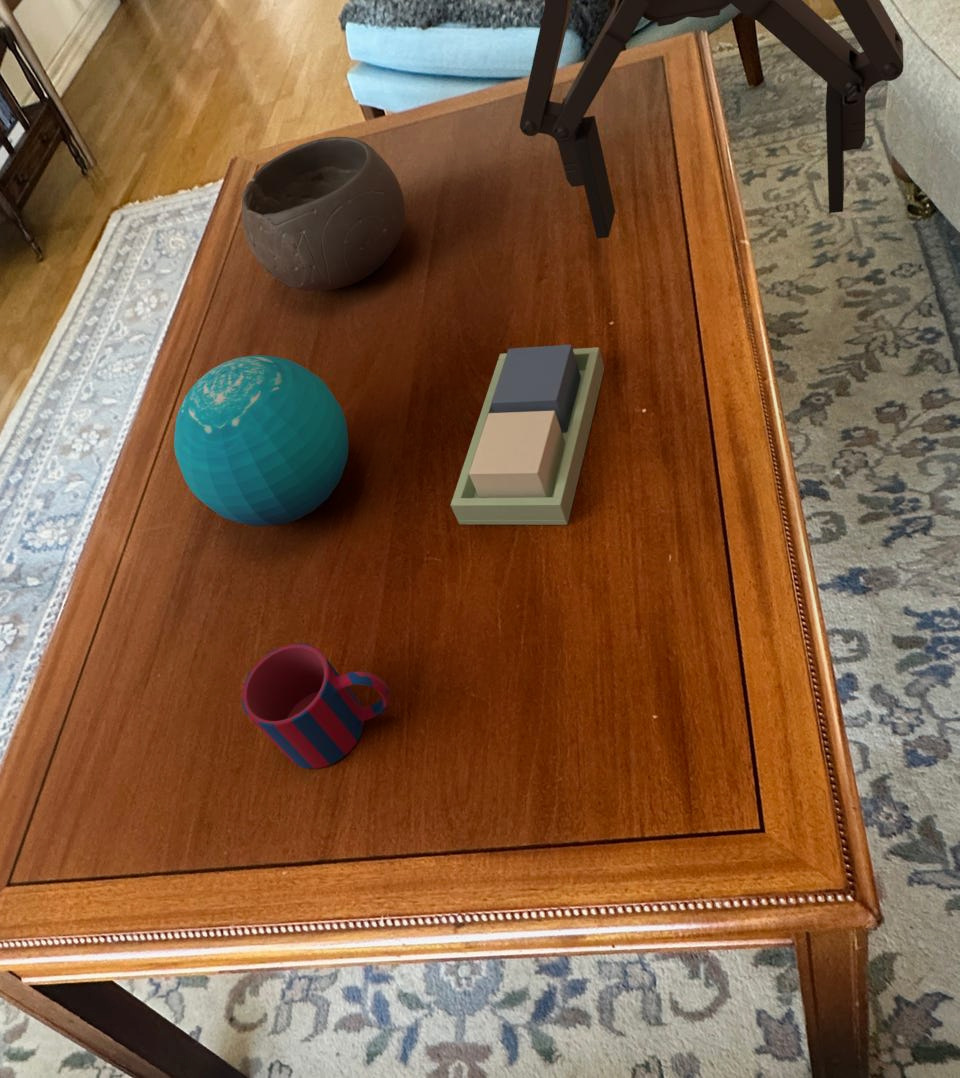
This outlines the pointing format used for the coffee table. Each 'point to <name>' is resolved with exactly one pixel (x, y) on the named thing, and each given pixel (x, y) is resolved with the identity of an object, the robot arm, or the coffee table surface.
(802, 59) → the robot arm
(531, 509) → the tray
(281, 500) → the decorative orb
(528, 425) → the beige block
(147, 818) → the coffee table surface
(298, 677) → the mug
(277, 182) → the bowl
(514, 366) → the blue rectangular block
